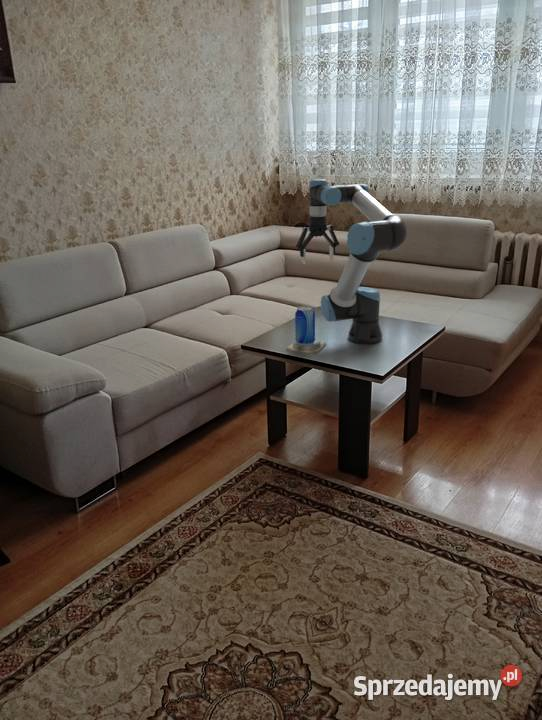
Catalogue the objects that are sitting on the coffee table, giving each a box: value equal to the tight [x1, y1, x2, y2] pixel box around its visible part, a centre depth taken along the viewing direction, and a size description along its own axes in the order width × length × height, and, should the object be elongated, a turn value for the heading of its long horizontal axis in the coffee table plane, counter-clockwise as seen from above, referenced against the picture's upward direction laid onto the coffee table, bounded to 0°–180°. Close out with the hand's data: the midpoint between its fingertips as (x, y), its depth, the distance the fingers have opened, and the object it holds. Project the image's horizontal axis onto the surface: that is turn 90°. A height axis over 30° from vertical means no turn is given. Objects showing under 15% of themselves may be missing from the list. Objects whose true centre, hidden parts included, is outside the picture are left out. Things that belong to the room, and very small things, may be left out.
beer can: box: [294, 305, 316, 346], centre depth 262 cm, size 8×8×16 cm
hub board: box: [286, 338, 327, 355], centre depth 266 cm, size 14×12×2 cm
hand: (317, 262), depth 279 cm, fingers open, 13 cm apart
